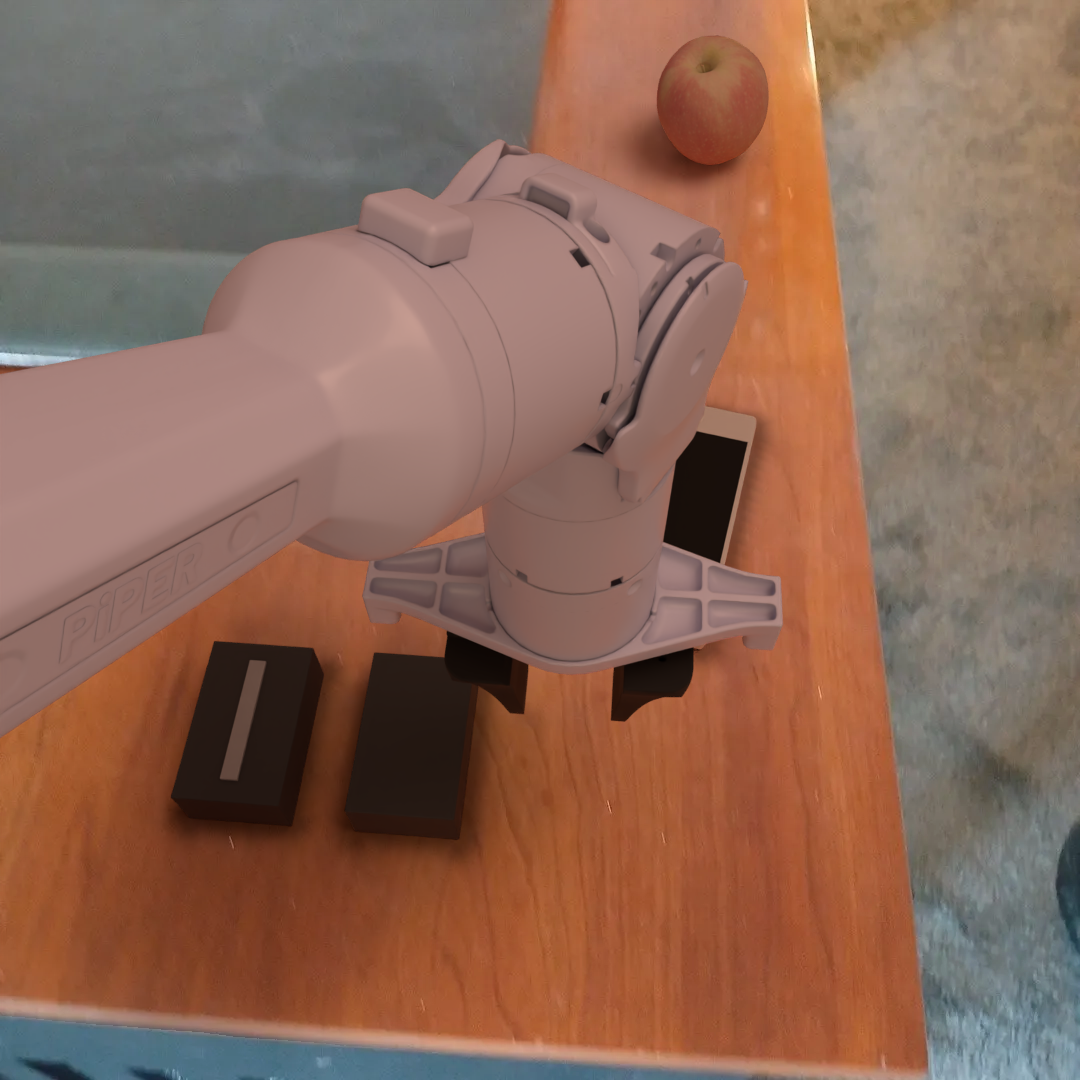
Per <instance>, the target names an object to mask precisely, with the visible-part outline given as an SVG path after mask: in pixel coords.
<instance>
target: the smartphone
mask: <svg viewBox="0 0 1080 1080" xmlns="http://www.w3.org/2000/svg"><path fill="white" fill-rule="evenodd" d="M756 428H757V418H756V416H753V415H749V414H745V413H740V412H736V411H731V410H727V409H722V408H716V407H713V406H707V405H705V410H704V415H703V417H702V419H701V420H700V422H699V424H698V427H697V431H696V434H695V436H694V437H693V439H692V441H691V442H690V443H689V445H688V446H687V447H686V448H685V450H684V451H683V452H682V454H681V455H680V456H679V457H678V459H677V460H676V463H675V470H674V476H673V482H672V489H671V495H670V501H669V507H668V514H667V520H666V526H665V531H664V538H663V542H664V543H667V544H670V545H672V546H675V547H678V548H680V549H683V550H686V551H688V552H691V553H694V554H696V555H699V556H702V557H704V558H707V559H710V560H712V561H715V562H718V563H720V564H723V565H726V561H727V557H728V552H729V548H730V543H731V540H732V539H731V538H732V534H733V531H734V526H735V522H736V516H737V512H738V508H739V504H740V501H741V500H740V499H741V494H742V490H743V485H744V481H745V477H746V474H747V473H746V472H747V468H748V465H749V459H750V455H751V451H752V446H753V441H754V437H755V433H756V430H757V429H756ZM705 646H706V644H704V645H700V646H696V647H694V649H696V650H697V649H698V650H702V649H703V648H705Z"/></svg>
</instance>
